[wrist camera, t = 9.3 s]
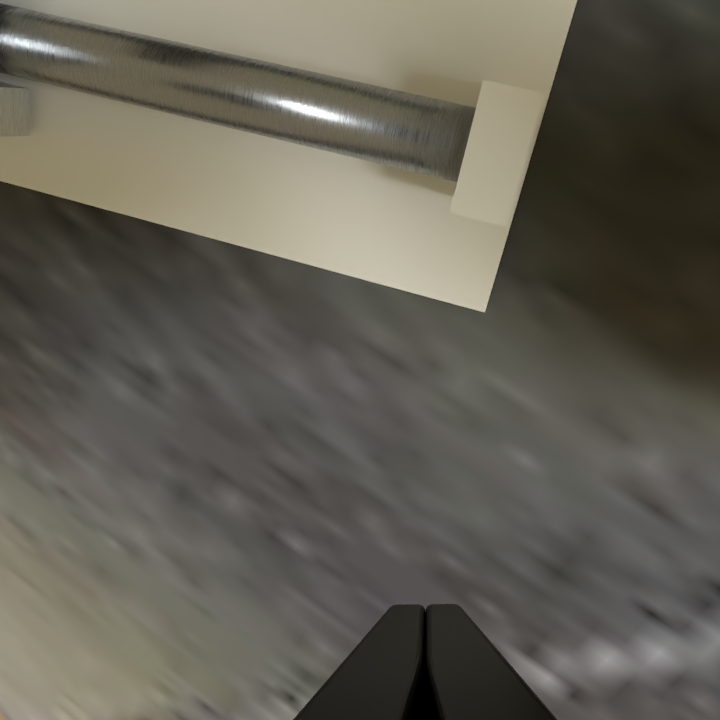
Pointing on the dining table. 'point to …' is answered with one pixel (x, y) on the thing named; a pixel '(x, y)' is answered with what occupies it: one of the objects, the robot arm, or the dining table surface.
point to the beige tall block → (14, 110)
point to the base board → (306, 164)
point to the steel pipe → (238, 92)
